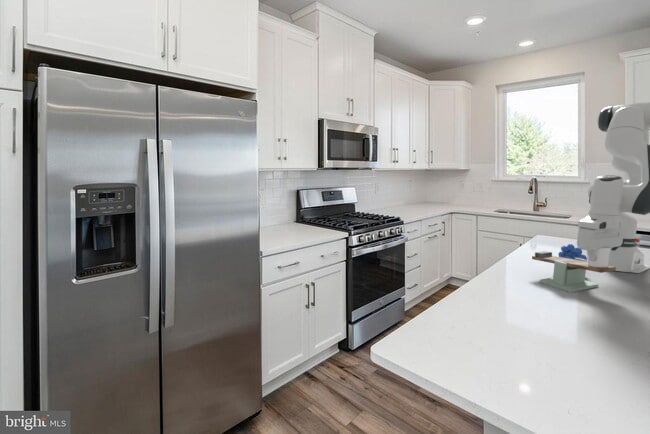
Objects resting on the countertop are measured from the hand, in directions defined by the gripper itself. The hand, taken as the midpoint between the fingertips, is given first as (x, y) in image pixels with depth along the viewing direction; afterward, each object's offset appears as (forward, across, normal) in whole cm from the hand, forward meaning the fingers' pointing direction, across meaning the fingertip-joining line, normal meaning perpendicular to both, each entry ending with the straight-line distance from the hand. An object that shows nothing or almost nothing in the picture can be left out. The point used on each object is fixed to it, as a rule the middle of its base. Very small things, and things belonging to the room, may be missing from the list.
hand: (598, 260), depth 127 cm
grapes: (+12, -16, -19) cm, 28 cm away
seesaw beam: (+4, 0, -9) cm, 10 cm away
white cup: (+2, 0, 0) cm, 2 cm away
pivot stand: (+12, 0, -9) cm, 15 cm away
